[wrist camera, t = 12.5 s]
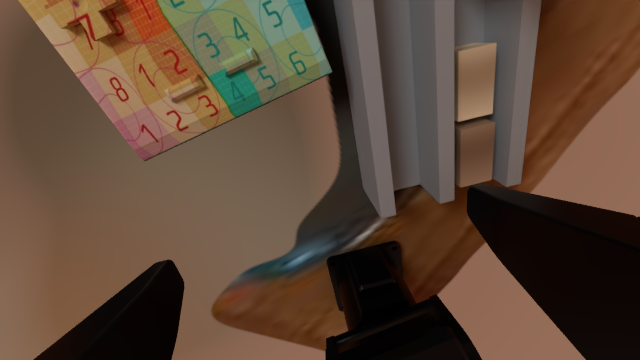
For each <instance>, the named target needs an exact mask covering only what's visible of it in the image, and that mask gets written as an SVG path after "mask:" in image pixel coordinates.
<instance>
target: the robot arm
mask: <svg viewBox="0 0 640 360" xmlns="http://www.w3.org/2000/svg"><path fill="white" fill-rule="evenodd" d="M467 214H468V216H469V218H470V220H471V221H472V222H473V224H474V225H475V227H476V228H477V230H478V231H479V232H480V234H481V235H482V237H483V238H484V240H485V241H486V242H487V244H488V245H489V247H490V248H491V250H492V251H493V252H494V254H495V255H496V256H497V257H498V259H499V260H500V261H501V262H502V264H503V265H504V266H505V267H506V268H507V269H508V271H510V273H511V274H512V275H513V276H514V277H515V279H516V280H517V281H518V282H519V283H520V284H521V285H522V287H523V288H524V289H525V290H526V291H527V292H528V294H529V295H530V296H531V297H532V298H533V299H534V301H535V302H536V303H537V304H538V305H539V306H540V307H541V308H542V310H543V311H544V312H545V313H546V314H547V315H548V316H549V318H550V319H551V320H552V321H553V322H554V324H556V326H557V327H558V328H559V329H560V330H561V332H563V334H564V335H565V336H566V337H567V338H568V340H569V341H570V342H571V343H572V344H573V345H574V347H575V348H576V349H577V350H578V351H579V352H580V353H581V355H582V356H583V357H584V358H585V359H586V360H640V217H636V216H634V215H630V214H625V213H620V212H616V211H611V210H606V209H601V208H597V207H592V206H587V205H582V204H577V203H573V202H568V201H563V200H558V199H553V198H549V197H544V196H540V195H535V194H530V193H525V192H521V191H516V190H511V189H506V188H502V187H497V186H492V185H487V184H478V185H474V186H471V187H469V188H468V191H467ZM393 246H395V247H394V248H392V247H393ZM331 262H334V263H331ZM327 265H328V269H329V273H330V277H331V281H332V285H333V289H334V293H335V296H336V300H337V304H338V308H339V310H340V311H344V315H345V319H346V323H347V327H348V331H347V332H345V333H342V334H340V335H337V336H335V337H334V336H331V337H329V338H326V348H327V349H326V360H482V359H481V357H480V355H479V353H478V352H477V350H476V348H475V347H474V345H473V343H472V341H471V340H470V338H469V337H468V335H467V334H466V332H465V331H464V330H463V328H462V327H461V326H460V324H459V323H458V322H457V321H456V319H455V318H454V317H453V315H452V314H451V313H450V312H449V310H448V309H447V308H446V307H445V305H444V304H443V303H442V301H441V300H440V299H439V297H438V296H437V295H433V296H431V297H429V298H430V299H427V300H425V301H422V302H420V303H416V301H415V300H414V298H413V296H412V294H411V292H410V290H409V288H408V287H407V285H406V283H405V281H404V279H403V272H402V262H401V253H400V246H399V244H398V243H397V242H396V241H391V242H387V243H383V244H379V245H375V246H371V247H367V248H363V249H359V250H355V251H351V252H347V253H343V254H339V255H336V256H332V257H329V258H328V259H327ZM183 293H184V281H183V279H182V277H181V275H180V273H179V271H178V269H177V267H176V266H175V264H174V262H173V261H172V260H165V261H160V262H157V263H155V264H153V265H152V266H151V267H150V268H148V269H147V270H146V271H145V272H143V273H142V274H141V275H139V276H138V277H137V278H136V279H134V280H133V281H132V282H131V283H129V284H128V285H127V286H126V287H124V288H123V289H122V290H121V291H119V292H118V293H117V294H115V295H114V296H113V297H112V298H110V299H109V300H108V301H107V302H105V303H104V304H103V305H102V306H101V307H99V308H98V309H97V310H95V311H94V312H93V313H92V314H90V315H89V316H88V317H86V318H85V319H84V320H83V321H82V322H80V323H79V324H78V325H76V326H75V327H74V328H73V329H71V330H70V331H69V332H68V333H66V334H65V335H64V336H63V337H61V338H60V339H59V340H57V341H56V342H55V343H54V344H52V345H51V346H50V347H49V348H47V349H46V350H45V351H44V352H42V353H41V354H40V355H39V356H37V357H36V358H35V359H34V360H171V359H172V355H173V350H174V347H175V342H176V338H177V333H178V327H179V320H180V313H181V307H182V300H183Z"/></svg>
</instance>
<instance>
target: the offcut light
mask: <svg viewBox="0 0 640 360" xmlns="http://www.w3.org/2000/svg"><path fill="white" fill-rule="evenodd" d="M496 46H497V43H471V44H467V45H462V46H458V47H454V120H455V121H457V122H460V121H464V120H468V119H472V118H476V117H480V116H484V115H488V114H492V113H493V98H494V80H495V63H496Z"/></svg>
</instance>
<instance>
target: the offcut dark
mask: <svg viewBox="0 0 640 360" xmlns="http://www.w3.org/2000/svg"><path fill="white" fill-rule="evenodd" d="M494 137H495V122H493V121H490V120H487V119H484V118H481V117H476V118H472V119H468V120H464V121H460V122H457V121H455V120H454V183H455V184H456V185H457V186H459V187H460V188H461V187H465V186H469V185H473V184H477V183H481V182H485V181H489V180H492V168H493V152H494Z"/></svg>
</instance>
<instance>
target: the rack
mask: <svg viewBox="0 0 640 360" xmlns="http://www.w3.org/2000/svg"><path fill="white" fill-rule="evenodd" d="M334 7H335V13H336V19H337V26H338V32H339V38H340V45H341V51H342V57H343V63H344V70H345V76H346V82H347V89H348V95H349V101H350V107H351V114H352V120H353V126H354V133H355V139H356V145H357V152H358V158H359V164H360V170H361V177H362V183H363V188H364V190H365V192H366V194H367V195H368V197H369V199H370V200H371V202H372V204H373V205H374V207H375V209H376V210H377V212H378V214H379V215H380V217H381V218H385V217H389V216H393V215H396V209H395V200H394V191H395V190H399V189H403V188H407V187H411V186H415V185H419V184H420V185H421V186H422V187H423V188H424V189H425V190H426V191H427V192H428V193H429V194H430V195H431V196H432V197H433V198H434V199H436V200H437V201H438V202H439V203H440V204H441V203H445V202H449V201H453V200H454V47H458V46H462V45H467V44H471V43H497V46H496V63H495V80H494V98H493V113H492V114H488V115H484V116H480V117H481V118H484V119H487V120H490V121H493V122H495V137H494V152H493V168H492V179H494V180H496V181H497V182H499V183H500V184H502V185H504V186H505V187H509V186H513V185H517V184H521V177H522V168H523V159H524V150H525V141H526V133H527V124H528V115H529V106H530V97H531V88H532V80H533V71H534V62H535V53H536V44H537V35H538V27H539V18H540V9H541V0H334Z"/></svg>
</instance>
